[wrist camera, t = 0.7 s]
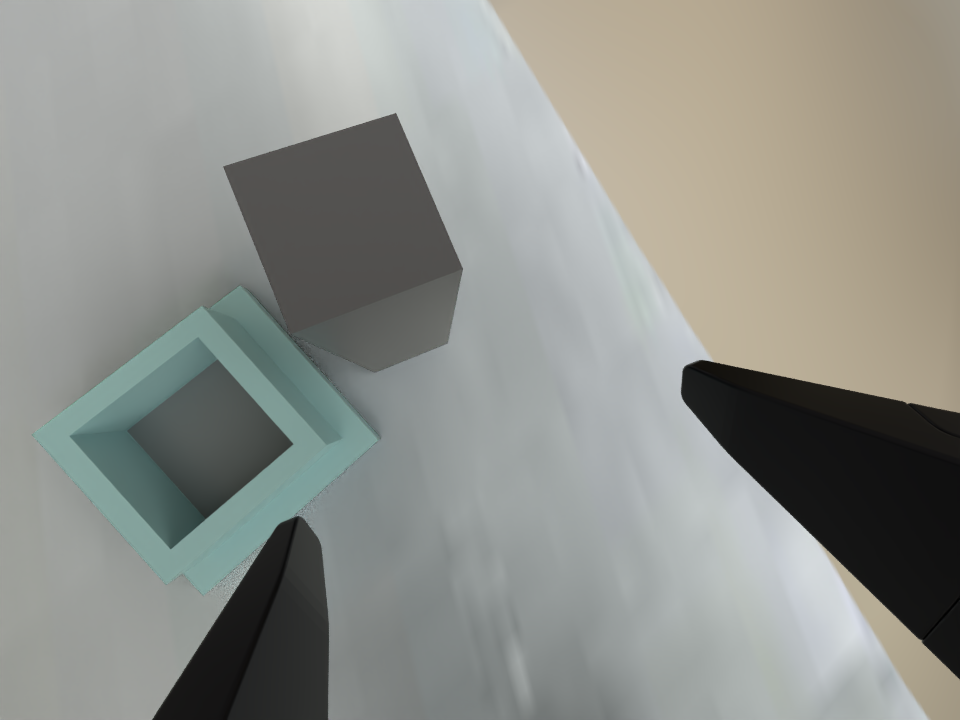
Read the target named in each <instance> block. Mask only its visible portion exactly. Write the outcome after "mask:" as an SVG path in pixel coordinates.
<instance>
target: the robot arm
mask: <svg viewBox="0 0 960 720" xmlns="http://www.w3.org/2000/svg"><path fill="white" fill-rule="evenodd" d="M681 395H682V398H683V400H684V402H685V403H686V405H687V406H688V407H689V408H690V409H691V411H692V412H693V413H694V414H695V415H696V417H697V418H698V419H699V420H700V421H701V422H702V424H703V425H704V426H705V427H706V428H707V430H708V431H709V432H710V433H711V434H712V435H713V437H714V438H715V439H716V440H717V441H718V443H719V444H720V445H721V446H722V447H723V448H724V449H725V450H726V452H727V453H728V454H729V455H730V456H731V457H732V458H733V459H734V460H735V461H736V462H737V463H738V464H739V465H740V466H741V467H742V468H743V469H744V470H746V471H747V472H748V473H749V474H750V475H751V476H752V477H753V478H754V479H755V480H756V481H757V482H758V483H759V484H760V485H761V486H762V487H763V488H764V489H765V490H766V491H767V492H768V493H769V494H770V495H771V496H772V497H773V498H774V499H775V500H776V501H777V502H778V503H779V504H780V505H781V506H782V507H784V508H785V509H786V510H787V511H788V512H789V513H790V514H791V515H792V516H793V517H794V518H795V519H796V520H797V521H798V522H799V523H800V524H801V525H802V526H803V527H804V528H805V529H806V530H807V531H808V532H809V533H810V534H811V535H812V536H813V537H814V538H815V539H816V540H817V541H818V542H819V543H821V544H822V545H823V546H824V547H825V548H826V549H827V550H828V551H829V552H830V553H831V554H832V555H833V556H834V557H835V558H836V559H837V560H838V561H839V562H840V563H841V564H842V565H843V566H844V567H845V568H846V569H847V570H848V571H849V572H850V573H852V575H853V576H854V577H856V579H857V580H859V581H860V582H861V583H862V584H863V585H864V586H865V587H866V588H867V589H868V590H869V591H870V592H871V593H872V594H873V595H874V596H875V597H876V598H877V599H878V600H879V601H880V602H881V603H882V604H883V605H884V606H885V607H886V608H887V609H888V610H890V612H892V614H893V615H895V616H896V617H897V618H898V619H899V620H900V621H901V622H902V623H903V624H904V625H905V626H906V627H907V628H908V629H909V630H910V631H911V632H912V633H913V634H914V635H915V636H916V637H917V638H918V639H920V640H922V643H923V644H924V645H925V646H926V647H927V648H928V649H929V650H930V651H931V652H932V653H933V654H934V655H935V656H936V657H937V658H938V659H939V660H940V661H941V662H942V663H943V664H945V665H946V666H947V667H948V668H949V669H950V670H951V671H952V672H953V673H954V674H955V675H956V676H957V677H958V678H959V679H960V413H957V412H951V411H947V410H941V409H936V408H932V407H927V406H922V405H918V404H913V403H909V404H906V403H905V402H903V401H898V400H893V399H888V398H884V397H878V396H874V395H868V394H864V393H859V392H855V391H850V390H845V389H840V388H835V387H830V386H826V385H821V384H815V383H811V382H806V381H802V380H797V379H792V378H787V377H782V376H777V375H772V374H767V373H763V372H758V371H753V370H749V369H744V368H739V367H734V366H729V365H724V364H720V363H715V362H710V361H705V360H699V361H696V362H693V363H691V364H688V365H686V366H685V367H684V369H683V373H682V385H681ZM328 672H329V621H328V608H327V598H326V588H325V578H324V568H323V558H322V548H321V544H320V541H319V539H318V537H317V536H316V535H315V533H314V532H313V531H312V529H311V528H310V527H309V525H308V524H307V523H306V521H305V520H304V519H303V518H302V517H300V516H296V517H294V518H291V519H289V520H286V521H283V522H281V523H280V524H278V525H277V527H276V528H275V530H274V531H273V533H272V534H271V536H270V537H269V539H268V540H267V542H266V544H265V545H264V547H263V548H262V550H261V551H260V553H259V554H258V556H257V558H256V559H255V561H254V562H253V564H252V565H251V567H250V568H249V570H248V572H247V573H246V575H245V576H244V578H243V579H242V581H241V582H240V584H239V586H238V587H237V589H236V590H235V592H234V593H233V595H232V596H231V598H230V599H229V601H228V603H227V604H226V606H225V607H224V609H223V610H222V612H221V613H220V615H219V617H218V618H217V620H216V621H215V623H214V624H213V626H212V627H211V629H210V631H209V632H208V634H207V635H206V637H205V638H204V640H203V641H202V643H201V645H200V646H199V648H198V649H197V651H196V652H195V654H194V655H193V657H192V659H191V660H190V662H189V663H188V665H187V666H186V668H185V669H184V671H183V673H182V674H181V676H180V677H179V679H178V680H177V682H176V683H175V685H174V687H173V688H172V690H171V691H170V693H169V694H168V696H167V697H166V699H165V700H164V702H163V704H162V705H161V707H160V708H159V710H158V711H157V713H156V714H155V716H154V718H153V719H152V720H328Z"/></svg>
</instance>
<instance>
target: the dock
mask: <svg viewBox="0 0 960 720" xmlns="http://www.w3.org/2000/svg"><path fill="white" fill-rule="evenodd" d="M32 436H33V437H34V438H35V439H36V440H37V441H38V442H39V444H40V445H41V446H42V447H43V448H44V449H45V450H46V451H47V452H48V454H49V455H50V456H51V457H52V458H53V459H54V460H55V461H56V463H57V464H58V465H59V466H60V467H61V468H62V469H63V470H64V471H65V473H66V474H67V475H68V476H69V477H70V478H71V479H72V480H73V482H74V483H75V484H76V485H77V486H78V487H79V488H80V489H81V490H82V492H83V493H84V494H85V495H86V496H87V497H88V498H89V499H90V501H91V502H92V503H93V504H94V505H95V506H96V507H97V508H98V509H99V511H100V512H101V513H102V514H103V515H104V516H105V517H106V518H107V520H108V521H109V522H110V523H111V524H112V525H113V526H114V527H115V528H116V530H117V531H118V532H119V533H120V534H121V535H122V536H123V537H124V538H125V540H126V541H127V542H128V543H129V544H130V545H131V546H132V547H133V549H134V550H135V551H136V552H137V553H138V554H139V555H140V556H141V557H142V559H143V560H144V561H145V562H146V563H147V564H148V565H149V566H150V568H151V569H152V570H153V571H154V572H155V573H156V574H157V575H158V576H159V578H160V579H161V580H162V581H163V582H164V583H165V584H166V585H167V584H168V583H170V582H171V581H173V580H174V579H176V578H177V577H179V576H180V575H182V574H184V575H185V576H186V577H187V579H188V580H189V581H190V582H191V583H192V584H193V585H194V586H195V587H196V589H197V590H198V591H199V592H200V593H201V594H202V595H203V596H204V595H205V594H206V593H207V592H208V591H210V590H211V589H212V588H213V587H214V586H216V585H217V584H218V583H219V582H220V581H221V580H222V579H223V578H224V577H226V576H227V575H228V574H229V573H230V572H231V571H232V570H233V569H235V568H236V567H237V566H238V565H239V564H240V563H241V562H242V561H244V560H245V559H246V558H247V557H248V556H249V555H250V554H251V553H253V552H254V551H255V550H256V549H257V548H258V547H259V546H260V545H262V544H263V543H264V542H265V541H266V540H267V539H268V538H269V537H270V536H271V534H272V533H273V531H274V530H275V528H276V527H277V525H278V524H280V523H281V522H283V521H286V520H289V519H291V518H292V517H293V516H294V515H295V514H296V513H297V512H299V511H300V510H301V509H302V508H303V507H304V506H305V505H306V504H308V503H309V502H310V501H311V500H312V499H313V498H314V497H315V496H317V495H318V494H319V493H320V492H321V491H322V490H323V489H324V488H326V487H327V486H328V485H329V484H330V483H331V482H332V481H333V480H335V479H336V478H337V477H338V476H339V475H340V474H341V473H342V472H344V471H345V470H346V469H347V468H348V467H349V466H350V465H351V464H353V463H354V462H355V461H356V460H357V459H358V458H359V457H360V456H362V455H363V454H364V453H365V452H366V451H367V450H368V449H369V448H371V447H372V446H373V445H374V444H375V443H376V442H377V441H378V440H379V439H381V438H380V437H379V436H378V434H377V433H376V432H375V431H374V430H373V429H372V428H371V427H370V426H369V424H368V423H367V422H366V421H365V420H364V419H363V418H362V417H361V415H360V414H359V413H358V412H357V411H356V410H355V409H354V408H353V407H352V405H351V404H350V403H349V402H348V401H347V400H346V399H345V398H344V396H343V395H342V394H341V393H340V392H339V391H338V390H337V389H336V388H335V386H334V385H333V384H332V383H331V382H330V381H329V380H328V379H327V377H326V376H325V375H324V374H323V373H322V372H321V371H320V370H319V369H318V367H317V366H316V365H315V364H314V363H313V362H312V361H311V360H310V358H309V357H308V356H307V355H306V354H305V353H304V352H303V351H302V350H301V348H300V347H299V346H298V345H297V344H296V343H295V342H294V341H293V340H292V338H291V337H290V336H289V335H288V334H287V333H286V332H285V331H284V329H283V328H282V327H281V326H280V325H279V324H278V323H277V322H276V321H275V319H274V318H273V317H272V316H271V315H270V314H269V313H268V312H267V310H266V309H265V308H264V307H263V306H262V305H261V304H260V303H259V302H258V300H257V299H256V298H255V297H254V296H253V295H252V294H251V293H250V291H249V290H247V289H245V288H243V287H242V286H240V285H239V286H238V287H237V288H235V289H234V290H233V291H232V292H230V293H229V294H228V295H226V296H225V297H224V298H222V299H221V300H220V301H218V302H217V303H216V304H214V305H213V306H212V307H211V308H209V309H208V308H206V307H204V306H201V307H200V308H198V309H197V310H196V311H194V312H193V313H192V314H190V315H189V316H188V317H186V318H185V319H184V320H182V321H181V322H180V323H178V324H177V325H176V326H174V327H173V328H172V329H171V330H169V331H168V332H167V333H165V334H164V335H163V336H161V337H160V338H159V339H157V340H156V341H155V342H153V343H152V344H151V345H149V346H148V347H147V348H145V349H144V350H143V351H141V352H140V353H139V354H138V355H136V356H135V357H134V358H132V359H131V360H130V361H128V362H127V363H126V364H124V365H123V366H122V367H120V368H119V369H118V370H116V371H115V372H114V373H112V374H111V375H110V376H108V377H107V378H106V379H104V380H103V381H102V382H101V383H99V384H98V385H97V386H95V387H94V388H93V389H91V390H90V391H89V392H87V393H86V394H85V395H83V396H82V397H81V398H79V399H78V400H77V401H75V402H74V403H73V404H71V405H70V406H69V407H68V408H66V409H65V410H64V411H62V412H61V413H60V414H58V415H57V416H56V417H54V418H53V419H52V420H50V421H49V422H48V423H46V424H45V425H44V426H42V427H41V428H40V429H38V430H37V431H36V432H35V433H33V434H32Z"/></svg>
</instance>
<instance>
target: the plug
mask: <svg viewBox="0 0 960 720" xmlns="http://www.w3.org/2000/svg"><path fill="white" fill-rule="evenodd" d="M223 167H224V170H225V172H226V175H227V177H228V180H229V182H230V185H231V187H232V190H233V192H234V195H235V197H236V200H237V202H238V205H239V207H240V210H241V212H242V215H243V217H244V220H245V222H246V225H247V227H248V230H249V232H250V235H251V237H252V240H253V242H254V245H255V247H256V250H257V252H258V255H259V257H260V260H261V262H262V265H263V267H264V270H265V272H266V275H267V277H268V280H269V282H270V285H271V287H272V290H273V292H274V295H275V297H276V300H277V302H278V305H279V307H280V310H281V312H282V315H283V317H284V320H285V322H286V325H287V327H288V330H289V332H290V334H291V335H293V336H295V337H298V338H300V339H302V340H304V341H306V342H309V343H311V344H313V345H315V346H318V347H320V348H322V349H324V350H326V351H329V352H331V353H333V354H335V355H338V356H340V357H342V358H344V359H346V360H349V361H351V362H353V363H355V364H357V365H360V366H362V367H364V368H366V369H369V370H371V371H373V372H378V371H380V370H383V369H385V368H388V367H390V366H393V365H395V364H398V363H400V362H403V361H405V360H408V359H410V358H412V357H415V356H417V355H420V354H422V353H425V352H427V351H430V350H432V349H435V348H437V347H440V346H442V345H445V344H447V343H448V339H449V334H450V329H451V324H452V319H453V314H454V310H455V305H456V300H457V295H458V290H459V285H460V280H461V275H462V271H463V268H462V266H461V264H460V261H459V259H458V257H457V254H456V252H455V250H454V247H453V245H452V243H451V240H450V238H449V236H448V233H447V231H446V229H445V226H444V224H443V222H442V219H441V217H440V215H439V212H438V210H437V208H436V205H435V203H434V201H433V198H432V196H431V194H430V191H429V189H428V187H427V184H426V182H425V180H424V177H423V175H422V173H421V170H420V168H419V166H418V163H417V161H416V159H415V156H414V154H413V152H412V149H411V147H410V145H409V142H408V140H407V138H406V135H405V133H404V131H403V128H402V126H401V124H400V121H399V119H398V117H397V114H396V113H395V114H392V115H389V116H385V117H382V118H379V119H376V120H372V121H369V122H366V123H363V124H359V125H356V126H353V127H350V128H346V129H343V130H340V131H337V132H334V133H330V134H327V135H324V136H321V137H317V138H314V139H311V140H308V141H304V142H301V143H298V144H295V145H291V146H288V147H285V148H282V149H278V150H275V151H272V152H269V153H266V154H262V155H259V156H256V157H253V158H249V159H246V160H243V161H240V162H236V163H233V164H230V165H227V166H223Z"/></svg>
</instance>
